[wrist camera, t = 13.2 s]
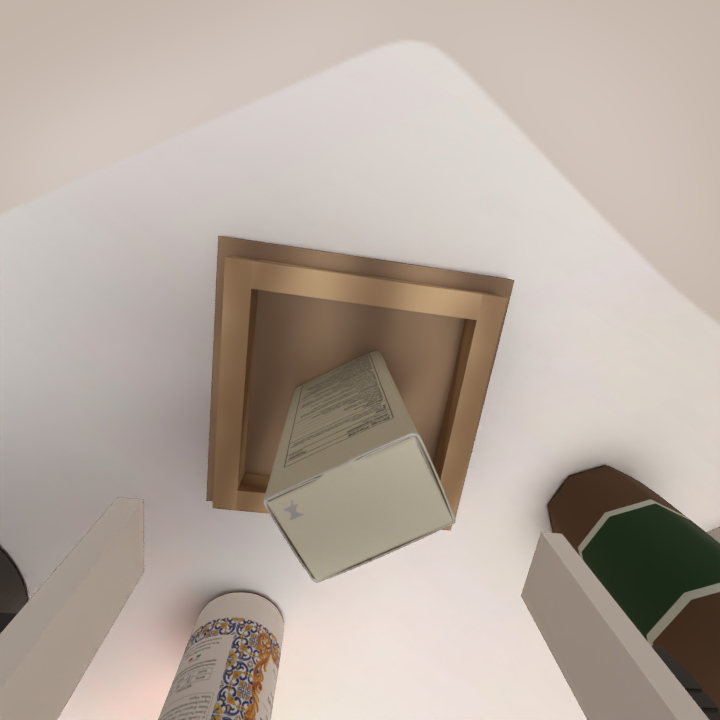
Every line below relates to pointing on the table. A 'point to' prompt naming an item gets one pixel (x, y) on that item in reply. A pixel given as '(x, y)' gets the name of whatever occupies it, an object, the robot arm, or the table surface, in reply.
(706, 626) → the beer bottle
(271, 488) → the skincare box
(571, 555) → the robot arm
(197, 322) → the table surface
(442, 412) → the wooden tray
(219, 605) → the bath foam
